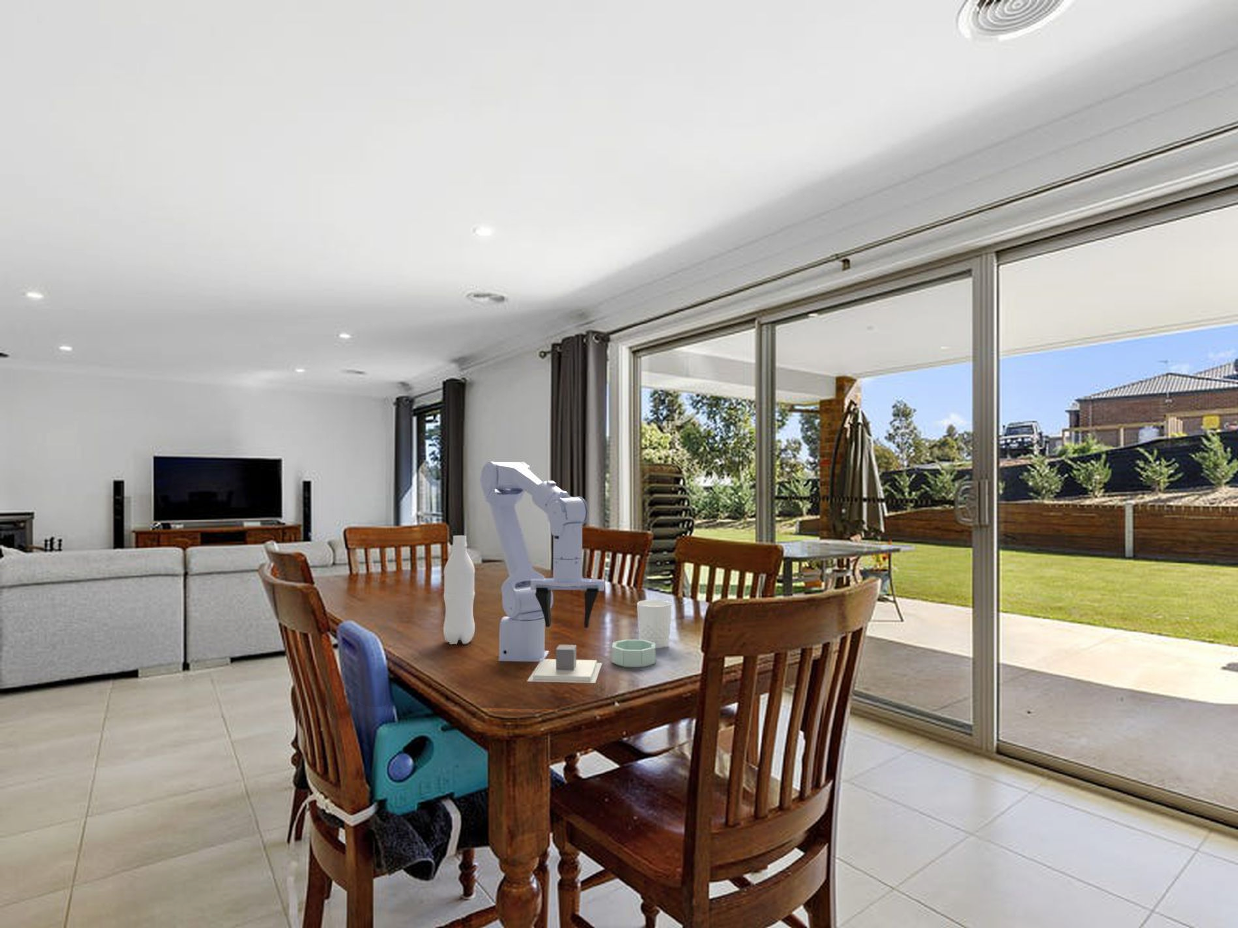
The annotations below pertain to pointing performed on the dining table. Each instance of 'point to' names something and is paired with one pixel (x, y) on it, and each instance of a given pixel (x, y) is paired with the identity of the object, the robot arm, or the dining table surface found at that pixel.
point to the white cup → (654, 621)
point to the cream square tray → (569, 680)
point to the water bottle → (459, 594)
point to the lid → (565, 666)
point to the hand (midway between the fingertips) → (567, 626)
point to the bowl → (633, 653)
